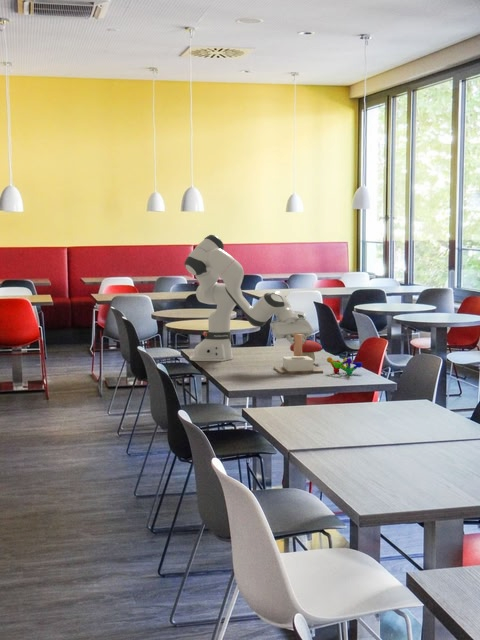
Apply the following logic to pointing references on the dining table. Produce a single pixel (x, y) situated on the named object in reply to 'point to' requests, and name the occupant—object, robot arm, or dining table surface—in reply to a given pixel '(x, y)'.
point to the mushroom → (309, 348)
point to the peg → (298, 345)
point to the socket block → (298, 363)
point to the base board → (284, 371)
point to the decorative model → (340, 365)
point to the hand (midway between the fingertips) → (298, 343)
